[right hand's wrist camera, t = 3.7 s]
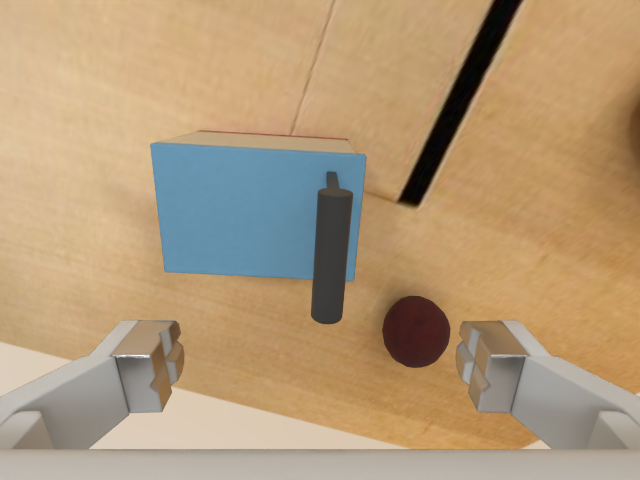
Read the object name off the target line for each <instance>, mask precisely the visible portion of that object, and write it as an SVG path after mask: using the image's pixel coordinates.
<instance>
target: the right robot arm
mask: <svg viewBox="0 0 640 480" xmlns="http://www.w3.org/2000/svg"><path fill="white" fill-rule="evenodd" d="M180 334H181V332H180V327H179V324H178V323H177V322H176V321H156V320H124V321H120V322H119V323H118V324H117V325H116V326H115V328H114V329H113V330H112V331H111V332H110V333H109V334H108V335H107V336H106V337H105V339H104V340H103V341H102V342H101V343H100V344H99V345H98V346H97V347H96V348H95V350H94V351H93V352H92V353H91V354H90V355H89V356H82V357H80V358H78V359H76V360H74V361H72V362H70V363H68V364H66V365H64V366H62V367H60V368H58V369H56V370H54V371H52V372H50V373H48V374H46V375H44V376H42V377H40V378H38V379H35V380H33V381H31V382H29V383H27V384H25V385H23V386H21V387H19V388H17V389H15V390H13V391H11V392H9V393H7V394H5V395H3V396H1V397H0V480H640V397H639V396H637V395H635V394H633V393H631V392H629V391H627V390H625V389H623V388H621V387H619V386H617V385H615V384H612V383H610V382H608V381H606V380H604V379H602V378H600V377H598V376H596V375H594V374H592V373H590V372H588V371H586V370H584V369H582V368H580V367H578V366H576V365H574V364H572V363H570V362H568V361H566V360H564V359H562V358H560V357H558V356H551V355H550V354H549V353H548V352H547V351H546V350H545V348H544V347H543V346H542V345H541V344H540V343H539V342H538V341H537V340H536V339H535V337H534V336H533V335H532V334H531V333H530V332H529V331H528V330H527V329H526V328H525V326H524V325H523V324H522V323H521V322H519V321H517V320H498V321H463V322H462V324H461V326H460V331H459V334H460V336H461V338H462V339H463V341H462V342H461V343H460V344H459V345H458V346H457V349H456V366H457V370H458V373H459V375H460V377H461V380H462V381H464V382H465V383H466V384H468V385H469V390H468V393H469V395H470V397H471V399H472V401H473V403H474V405H475V407H476V409H477V411H478V412H491V413H511V415H512V416H513V417H514V418H515V419H517V420H518V421H519V422H520V423H521V424H523V425H524V426H525V427H526V428H527V429H529V430H530V431H531V432H532V433H533V434H535V435H536V436H537V437H538V438H539V439H541V440H542V441H543V442H544V443H545V444H547V445H548V446H549V447H550V448H551V449H89V448H90V447H91V446H92V445H94V444H95V443H96V442H97V441H98V440H99V439H101V438H102V437H103V436H104V435H106V434H107V433H108V432H109V431H110V430H112V429H113V428H114V427H115V426H116V425H118V424H119V423H120V422H121V421H122V420H124V419H125V418H126V417H127V416H128V415H129V413H149V412H162V411H163V409H164V407H165V405H166V403H167V401H168V399H169V397H170V395H171V393H172V390H171V385H172V384H174V383H175V382H176V381H178V380H179V377H180V375H181V373H182V370H183V365H184V349H183V346H182V345H181V344H180V343H179V342H178V341H177V339H178V338H179V336H180Z"/></svg>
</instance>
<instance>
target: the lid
mask: <svg viewBox="0 0 640 480" xmlns="http://www.w3.org/2000/svg"><path fill="white" fill-rule="evenodd" d="M150 146H151V155H152V164H153V173H154V181H155V190H156V199H157V207H158V216H159V225H160V234H161V242H162V251H163V260H164V269H165V272H175V273H195V274H215V275H235V276H255V277H275V278H295V279H313V287H312V305H311V316H312V318H313V319H314V320H315V321H317V322H319V323H322V324H334V323H337V322H339V321H340V320H341V318H342V312H343V301H344V290H345V281H354V275H355V265H356V255H357V245H358V235H359V226H360V216H361V206H362V196H363V186H364V177H365V167H366V155H365V154H356V153H339V152H321V151H304V150H287V149H269V148H252V147H234V146H217V145H199V144H182V143H164V142H156V143H152V144H150Z"/></svg>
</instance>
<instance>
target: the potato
mask: <svg viewBox="0 0 640 480" xmlns="http://www.w3.org/2000/svg"><path fill="white" fill-rule="evenodd" d="M382 332H383V337H384V343H385V346H386V348H387V350H388V351H389V353H390V354H391V356H392V357H393V358H394V359H395V360H396V361H397V362H399V363H401V364H403V365H405V366H407V367H412V368H418V367H424V366H428V365H430V364H432V363H434V362H435V361H437V359H438V358H439V357H440V356H441V355H442V353H443V352H444V351H445V349H446V347H447V345H448V343H449V337H450V325H449V322H448V319H447V318H446V316H445V314H444V312H443V311H442V310H441V309H440V308H438V307H437V306H436V305H435V304H434V303H433V302H432V301H430V300H428V299H425V298H423V297H420V296H408V297H405V298H402V299H401V300H399V301H398V302H397V303H395V304H394V305H393V306H392V308H391V309H390V311H389V312H388V313H387V315H386V317H385V319H384V324H383V329H382Z"/></svg>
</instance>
